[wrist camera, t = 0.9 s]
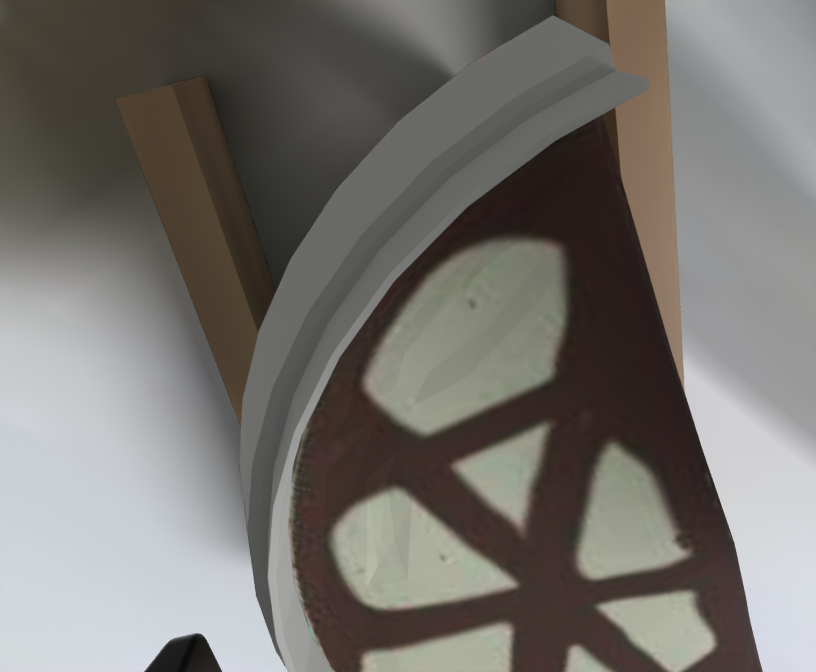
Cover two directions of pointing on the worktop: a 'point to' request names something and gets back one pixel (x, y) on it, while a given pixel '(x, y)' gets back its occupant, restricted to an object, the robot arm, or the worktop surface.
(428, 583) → the food container
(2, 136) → the worktop surface
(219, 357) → the dock
